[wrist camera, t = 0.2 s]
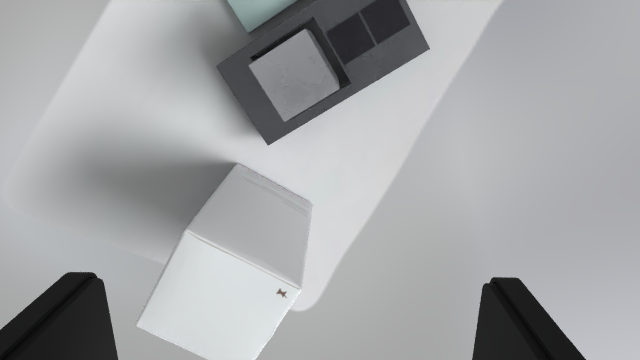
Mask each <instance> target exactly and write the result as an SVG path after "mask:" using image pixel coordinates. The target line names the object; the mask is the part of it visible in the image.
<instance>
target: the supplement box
mask: <svg viewBox="0 0 640 360" xmlns="http://www.w3.org/2000/svg"><path fill="white" fill-rule="evenodd" d="M312 211H313V204H311V203H310V202H308V201H306V200H304V199H302V198H301V197H299V196H297V195H295V194H293V193H291V192H290V191H288V190H286V189H284V188H282V187H280V186H279V185H277V184H275V183H273V182H271V181H270V180H268V179H266V178H264V177H262V176H260V175H259V174H257V173H255V172H253V171H251V170H250V169H248V168H246V167H244V166H242V165H240V164H238V163H237V164H235V166H234V167H233V168H232V170H231V171H230V172H229V173H228V175H227V176H226V177H225V179H224V180H223V181H222V182H221V184H220V185H219V186H218V187H217V189H216V190H215V191H214V192H213V194H212V195H211V196H210V198H209V199H208V200H207V201H206V203H205V204H204V205H203V206H202V208H201V209H200V210H199V212H198V213H197V214H196V215H195V217H194V218H193V219H192V221H191V222H190V223H189V224H188V226H187V227H186V228H185V230H184V231H183V233H182V235H181V237H180V239H179V241H178V243H177V244H176V246H175V248H174V250H173V252H172V254H171V256H170V258H169V260H168V262H167V263H166V265H165V267H164V269H163V271H162V273H161V275H160V277H159V279H158V281H157V283H156V285H155V287H154V289H153V290H152V292H151V294H150V296H149V298H148V300H147V302H146V304H145V306H144V308H143V310H142V312H141V314H140V316H139V318H138V320H137V322H136V326H137V327H139V328H142V329H144V330H146V331H148V332H150V333H152V334H154V335H156V336H158V337H161V338H162V339H165V340H167V341H169V342H172V343H174V344H176V345H178V346H180V347H182V348H184V349H186V350H189V351H191V352H193V353H195V354H197V355H199V356H201V357H203V358H205V359H207V360H255V359H256V358H257V356H258V355H259V353H260V351H261V350H262V349H263V347H264V346H265V344H266V343H267V342H268V341H269V339H270V338H271V337H272V335H273V334H274V332H275V329H276V328H277V326H278V325H279V323H280V322H281V320H282V319H283V317H284V316H285V314H286V313H287V311H288V310H289V309H290V307H291V306H292V304H293V303H294V301H295V300H296V298H297V297H298V295H299V293H300V292H301V290H302V282H303V275H304V269H305V261H306V254H307V247H308V240H309V233H310V225H311V218H312Z"/></svg>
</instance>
